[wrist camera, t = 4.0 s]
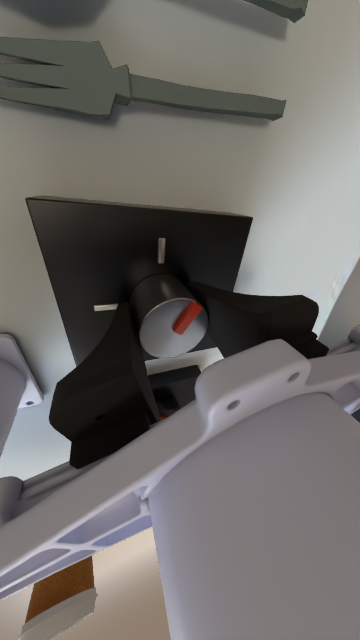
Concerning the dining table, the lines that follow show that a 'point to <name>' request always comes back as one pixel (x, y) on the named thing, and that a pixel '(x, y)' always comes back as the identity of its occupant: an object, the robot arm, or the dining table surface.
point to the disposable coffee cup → (60, 601)
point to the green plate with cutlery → (119, 78)
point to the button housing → (174, 389)
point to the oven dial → (167, 316)
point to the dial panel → (128, 256)
